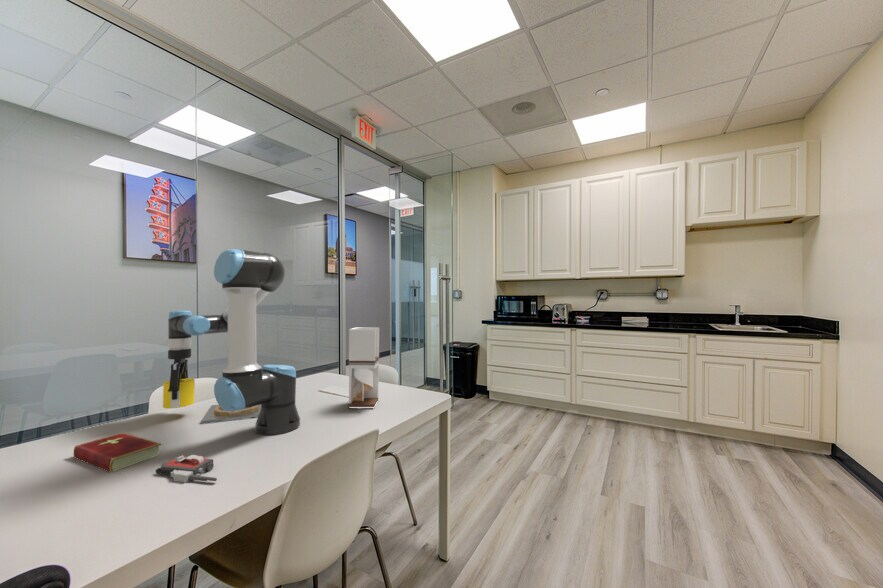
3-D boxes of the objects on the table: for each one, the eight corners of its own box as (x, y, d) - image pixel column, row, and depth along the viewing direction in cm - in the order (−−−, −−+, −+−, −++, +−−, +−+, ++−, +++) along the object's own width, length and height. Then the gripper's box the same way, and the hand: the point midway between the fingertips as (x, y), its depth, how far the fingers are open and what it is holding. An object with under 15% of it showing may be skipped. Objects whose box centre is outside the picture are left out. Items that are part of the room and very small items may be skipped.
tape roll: (199, 400, 145) (199, 378, 146) (185, 407, 135) (186, 383, 136) (172, 401, 144) (172, 379, 144) (157, 409, 134) (157, 384, 134)
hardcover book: (110, 474, 95) (110, 458, 95) (73, 459, 103) (73, 445, 103) (160, 456, 106) (160, 442, 106) (123, 444, 114) (123, 431, 114)
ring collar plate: (265, 416, 141) (265, 410, 141) (200, 423, 132) (200, 417, 132) (267, 401, 161) (267, 396, 161) (211, 407, 152) (211, 401, 152)
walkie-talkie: (146, 480, 92) (212, 487, 89) (147, 463, 92) (213, 470, 89) (177, 464, 101) (238, 470, 97) (177, 449, 101) (238, 454, 97)
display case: (348, 408, 152) (349, 329, 153) (353, 401, 163) (355, 327, 163) (374, 409, 152) (375, 329, 153) (378, 402, 163) (379, 327, 164)
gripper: (176, 345, 149) (175, 398, 148) (159, 352, 128) (157, 413, 128) (197, 345, 152) (196, 396, 151) (183, 351, 131) (182, 410, 131)
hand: (178, 403), depth 140 cm, fingers closed on tape roll, 10 cm apart
